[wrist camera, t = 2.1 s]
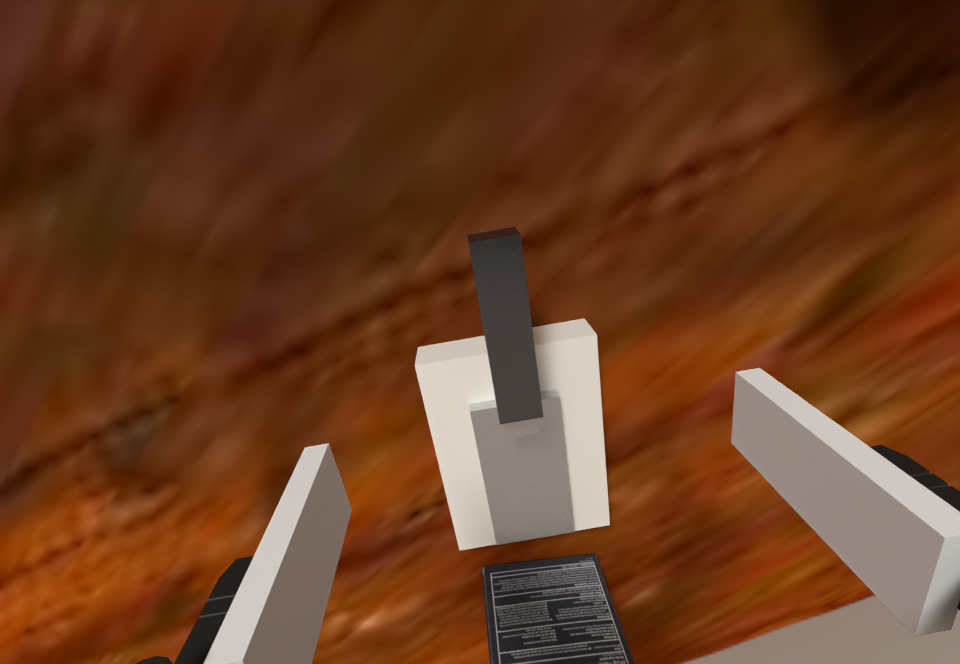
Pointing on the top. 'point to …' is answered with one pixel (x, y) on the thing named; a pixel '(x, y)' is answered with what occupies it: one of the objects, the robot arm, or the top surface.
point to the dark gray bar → (516, 403)
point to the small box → (552, 613)
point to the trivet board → (467, 379)
